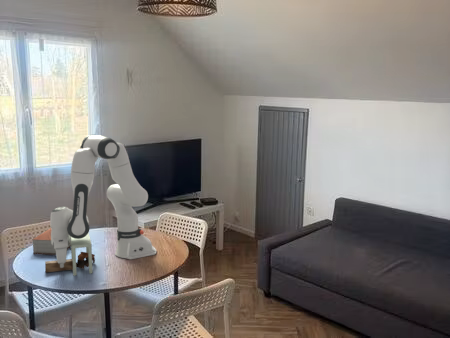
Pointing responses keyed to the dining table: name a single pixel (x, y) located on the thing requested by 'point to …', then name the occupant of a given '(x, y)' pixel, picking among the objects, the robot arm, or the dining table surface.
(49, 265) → the push stick
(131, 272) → the dining table surface
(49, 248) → the model house
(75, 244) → the footstool
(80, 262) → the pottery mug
